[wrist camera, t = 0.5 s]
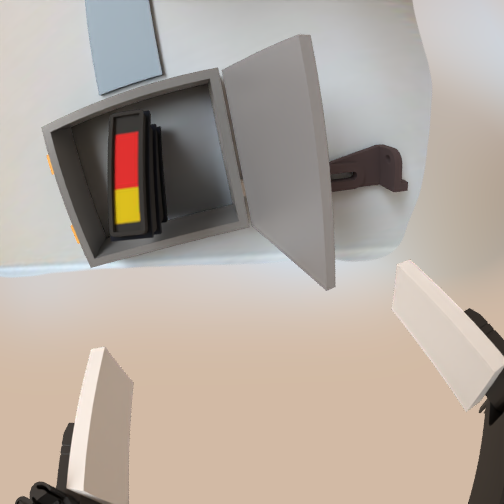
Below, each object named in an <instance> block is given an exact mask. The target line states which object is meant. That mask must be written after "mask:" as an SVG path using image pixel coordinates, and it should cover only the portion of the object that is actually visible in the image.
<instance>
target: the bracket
mask: <svg viewBox="0 0 504 504" xmlns="http://www.w3.org/2000/svg"><path fill="white" fill-rule="evenodd" d="M329 167H330V175H331V174H338V173H347V172H353V175H352V176H351V177H350V178H344V179H336V180H331V191H332V192H335V191H342V190H349V189H355V188H358V187H362V186H370V185H378V184H380V185H382V186H383V187H385V188H387V189H389V190H391V191H393V192H400V191H407V189H408V182H407V181H405V180H402V159H401V155H400V153H399V152H398V150H397V149H395V148H393V147H389V146H386V145H374V146H372V147H369V148H366V149H363V150H360V151H358V152H355V153H352V154H349V155H347V156H344V157H341V158H339V159H336V160H333V161H331V162H329Z"/></svg>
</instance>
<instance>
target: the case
mask: <svg viewBox="0 0 504 504" xmlns="http://www.w3.org/2000/svg"><path fill="white" fill-rule="evenodd" d="M203 84H208V88H209V93H210V97H211V102H212V107H213V112H214V117H215V122H216V127H217V132H218V136H219V141H220V146H221V151H222V156H223V160H224V165H225V170H226V175H227V179H228V184H229V189H230V194H231V198H232V203H233V204H232V205H227V206H223V207H219V208H215V209H211V210H207V211H203V212H199V213H195V214H191V215H187V216H183V217H179V218H175V219H171V220H168V221H167V222H163V223H161V226H162V233H161V234H157V235H154V237H153V238H144V239H134V240H124V241H114V242H112V241H111V237H107V238H106V235H105V233H104V230H103V227H102V225H101V222H100V220H99V217H98V214H97V211H96V209H95V206H94V203H93V200H92V197H91V194H90V191H89V188H88V185H87V182H86V179H85V176H84V173H83V169H82V166H81V163H80V159H79V156H78V152H77V149H76V145H75V141H74V138H73V134H72V130H71V127H72V126H75V125H77V124H79V123H82V122H84V121H87V120H89V119H92V118H94V117H97V116H99V115H102V114H104V113H107V112H110V111H113V110H115V109H118V108H121V107H124V106H127V105H130V104H133V103H136V102H139V101H142V100H145V99H149V98H152V97H156V96H159V95H163V94H166V93H170V92H174V91H178V90H182V89H186V88H190V87H194V86H199V85H203ZM41 128H42V132H43V136H44V140H45V144H46V147H47V151H48V155H46V156H47V159H48V163H49V166H50V169H51V173H52V175H53V174H54V175H55V178H56V181H57V184H58V187H59V190H60V193H61V196H62V198H63V201H64V204H65V207H66V209H67V212H68V215H69V217H70V220H71V222H72V225H71V228H72V231H73V233H74V236H75V238H76V240H77V243H78V244H79V243H80V244H81V247H82V249H83V251H84V253H85V256H86V258H87V260H88V262H89V264H90V267H91V268H92V267H95V266H99V265H103V264H106V263H110V262H114V261H117V260H121V259H125V258H129V257H132V256H136V255H140V254H144V253H148V252H151V251H155V250H159V249H163V248H167V247H171V246H175V245H179V244H183V243H187V242H191V241H195V240H199V239H203V238H207V237H211V236H215V235H219V234H223V233H227V232H231V231H235V230H240V229H244V228H248V227H249V222H248V217H247V212H246V207H245V201H244V197H246V191H245V186H244V181H243V179H242V180H240V176H239V171H238V166H237V161H236V156H235V151H234V146H233V140H232V135H231V130H230V125H229V120H228V115H227V110H226V105H225V100H224V95H223V90H222V85H221V80H220V75H219V70H218V68H213V69H208V70H203V71H199V72H194V73H190V74H185V75H181V76H177V77H173V78H169V79H166V80H162V81H158V82H155V83H151V84H148V85H145V86H141V87H138V88H135V89H132V90H129V91H126V92H123V93H120V94H118V95H115V96H112V97H109V98H107V99H104V100H101V101H99V102H96V103H94V104H91V105H89V106H86V107H84V108H82V109H79V110H77V111H75V112H73V113H70V114H68V115H66V116H64V117H62V118H59V119H57V120H55V121H53V122H51V123H49V124H47V125H45V126H43V127H41Z"/></svg>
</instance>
